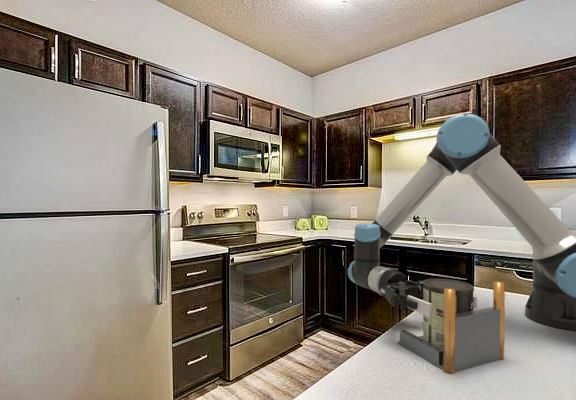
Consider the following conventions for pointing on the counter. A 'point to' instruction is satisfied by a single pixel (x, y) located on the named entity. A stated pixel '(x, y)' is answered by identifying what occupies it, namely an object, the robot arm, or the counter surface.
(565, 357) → the counter surface
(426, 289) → the coffee can
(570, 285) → the robot arm
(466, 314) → the keeper bracket
